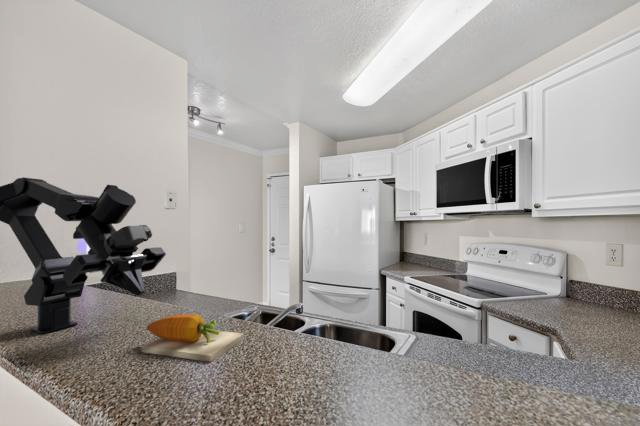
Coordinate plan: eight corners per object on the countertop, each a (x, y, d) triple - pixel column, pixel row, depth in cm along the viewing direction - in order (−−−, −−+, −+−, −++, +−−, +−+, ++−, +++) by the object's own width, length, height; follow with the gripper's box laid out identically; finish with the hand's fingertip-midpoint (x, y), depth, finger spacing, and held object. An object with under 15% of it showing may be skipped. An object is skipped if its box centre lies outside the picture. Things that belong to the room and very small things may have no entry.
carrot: (159, 328, 60) (226, 329, 57) (142, 346, 56) (213, 349, 53) (152, 308, 58) (220, 308, 55) (133, 325, 54) (206, 327, 51)
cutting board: (141, 352, 53) (141, 346, 53) (183, 332, 62) (183, 327, 62) (210, 361, 48) (210, 355, 48) (244, 338, 58) (244, 333, 58)
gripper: (74, 211, 53) (119, 275, 49) (160, 213, 71) (197, 261, 67) (45, 253, 55) (85, 318, 51) (134, 245, 73) (169, 293, 69)
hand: (141, 293), depth 60 cm, fingers closed
